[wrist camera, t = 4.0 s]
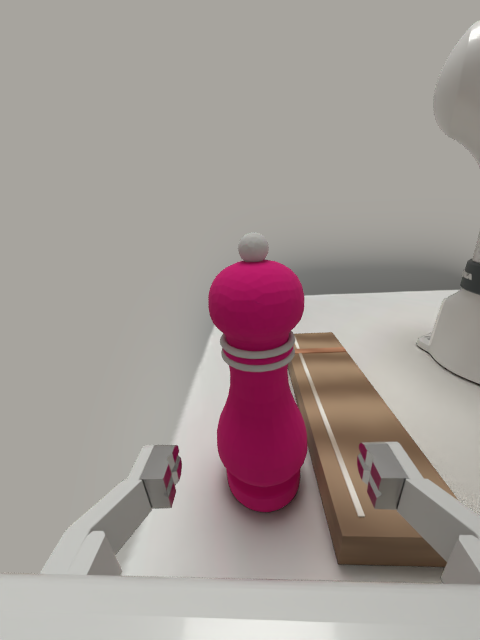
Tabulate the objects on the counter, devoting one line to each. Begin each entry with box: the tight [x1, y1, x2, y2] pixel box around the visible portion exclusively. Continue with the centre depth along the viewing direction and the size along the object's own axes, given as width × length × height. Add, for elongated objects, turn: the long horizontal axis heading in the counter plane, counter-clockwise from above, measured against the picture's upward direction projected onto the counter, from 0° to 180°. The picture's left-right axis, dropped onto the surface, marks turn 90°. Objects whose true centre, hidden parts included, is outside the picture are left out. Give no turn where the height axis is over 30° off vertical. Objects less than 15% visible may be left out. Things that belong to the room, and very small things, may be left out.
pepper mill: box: [209, 232, 307, 512], centre depth 17 cm, size 7×7×20 cm
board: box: [288, 332, 459, 567], centre depth 27 cm, size 28×8×3 cm, turn 177°
